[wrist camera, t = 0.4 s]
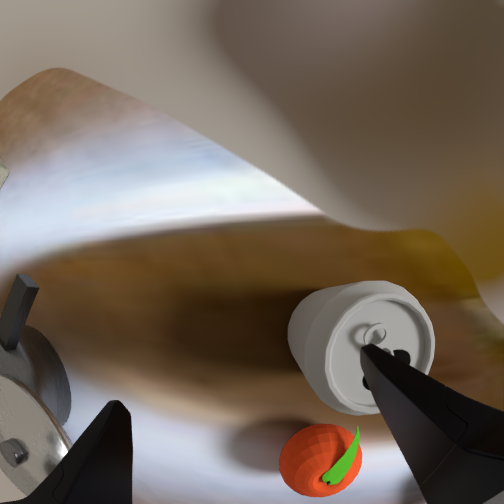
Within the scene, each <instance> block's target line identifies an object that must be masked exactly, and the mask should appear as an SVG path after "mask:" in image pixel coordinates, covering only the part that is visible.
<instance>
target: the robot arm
mask: <svg viewBox="0 0 504 504" xmlns="http://www.w3.org/2000/svg"><path fill="white" fill-rule="evenodd" d="M360 365H361V368H362V371H363V373H364V376H365V378H366V381H367V383H368V386H369V388H370V391H371V393H372V396H373V398H374V401H375V403H376V405H377V407H378V409H379V411H380V412H381V414H382V416H383V418H384V420H385V422H386V424H387V425H388V427H389V429H390V431H391V433H392V435H393V437H394V439H395V440H396V442H397V444H398V446H399V448H400V450H401V452H402V454H403V456H404V458H405V460H406V462H407V464H408V465H409V467H410V469H411V471H412V473H413V475H414V477H415V479H416V481H417V483H418V485H419V486H420V487H419V488H420V490H421V492H422V494H423V496H424V498H425V500H426V502H427V504H504V411H501V410H498V409H496V408H493V407H491V406H488V405H486V404H483V403H480V402H478V401H475V400H473V399H471V398H469V397H466V396H464V395H462V394H460V393H458V392H457V391H455V390H453V389H451V388H449V387H447V386H446V387H445V385H444V384H442V383H440V382H438V381H437V380H435V379H433V378H431V377H430V376H428V375H426V374H424V373H423V372H421V371H419V370H417V369H416V368H414V367H412V366H410V365H409V364H407V363H405V362H404V361H402V360H400V359H398V358H397V357H395V356H393V355H391V354H390V353H388V352H386V351H385V350H383V349H381V348H379V347H378V346H376V345H374V344H372V343H369V344H367V345H364V346H362V347H361V348H360ZM132 463H133V443H132V424H131V414H130V412H129V411H128V410H127V409H126V407H125V406H124V405H123V404H122V403H121V402H120V401H119V400H112V401H109V402H108V403H107V404H106V405H105V407H104V408H103V409H102V410H101V411H100V413H99V414H98V415H97V416H96V418H95V419H94V420H93V421H92V422H91V424H90V425H89V426H88V427H87V429H86V430H85V431H84V432H83V433H82V435H81V436H80V437H79V438H78V440H77V441H76V442H75V443H74V445H73V446H72V447H71V448H70V450H69V451H68V452H67V453H66V455H65V456H64V457H63V458H62V460H61V461H60V462H59V463H58V464H57V466H56V467H55V468H54V469H53V470H52V472H51V473H50V474H49V475H48V476H47V477H46V478H45V479H44V480H43V481H42V482H41V483H40V484H39V485H38V486H37V488H36V489H35V490H34V491H33V492H32V493H31V494H30V495H28V496H27V497H26V498H24V499H21V500H17V501H11V502H4V503H0V504H132Z"/></svg>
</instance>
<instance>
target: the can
mask: <svg viewBox="0 0 504 504" xmlns="http://www.w3.org/2000/svg"><path fill="white" fill-rule="evenodd" d="M288 343H289V346H290V350H291V353H292V355H293V357H294V358H295V360H296V362H297V364H298V365H299V367H300V369H301V370H302V372H303V374H304V376H305V377H306V379H307V381H308V383H309V384H310V386H311V387H312V389H313V390H314V391H315V393H316V394H317V395H318V397H319V398H320V400H321V401H322V402H324V403H325V404H327V405H328V406H330V407H331V408H333V409H335V410H336V411H338V412H342V413H347V414H352V415H365V414H368V415H369V414H376V413H381V412H380V411H379V409H378V407H377V405H376V403H375V401H374V398H373V396H372V393H371V391H370V388H369V386H368V383H367V381H366V378H365V376H364V373H363V371H362V368H361V365H360V348H361V347H362V346H364V345H367V344H369V343H372V344H374V345H376V346H378V347H379V348H381V349H383V350H385V351H386V352H388V353H390V354H391V355H393V356H395V357H397V358H398V359H400V360H402V361H404V362H405V363H407V364H409V365H410V366H412V367H414V368H416V369H417V370H419V371H421V372H423V373H424V374H426V375H428V373H429V370H430V367H431V364H432V361H433V358H434V347H435V337H434V332H433V327H432V323H431V321H430V319H429V317H428V316H427V314H426V312H425V310H424V308H423V307H421V306H420V304H419V302H418V301H417V299H416V298H415V297H413V296H412V295H411V294H410V293H409V292H408V291H406V290H405V289H404V288H403V287H400V286H398V285H395V284H392V283H389V282H387V281H363V282H357V283H352V284H346V285H341V286H335V287H329V288H325V289H322V290H319V291H316V292H313V293H311V294H310V295H309V296H307V297H306V298H304V299H303V300H302V301H301V302H300V303H299V305H298V306H297V307H296V309H295V310H294V311H293V313H292V316H291V319H290V321H289V324H288Z"/></svg>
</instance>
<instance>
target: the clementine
mask: <svg viewBox="0 0 504 504" xmlns="http://www.w3.org/2000/svg"><path fill="white" fill-rule="evenodd" d="M361 463H362V452H361V448H360V445H359V429H358V425H357V432H356V435H355V437H354V435H352V434H351V433H350V432H349V431H347V430H346V429H344V428H343V427H340V426H336V425H332V424H317V425H311V426H309V427H306V428H303V429H302V430H300V431H298V432H297V433H295V434H294V435H293V436H292V437H291V438H290V439H289V440H288V441H287V442H286V444H285V446H284V447H283V449H282V451H281V455H280V459H279V469H280V473H281V475H282V477H283V479H284V482H285V483H286V484H287V485H288V486H289V487H290V488H291V489H293V490H294V491H295V492H297V493H299V494H301V495H305V496H309V497H325V496H330V495H333V494H336V493H338V492H340V491H341V490H343V489H345V488H346V487H347V486H348V485H349V484H350V483H351V482H352V481H353V480H354V479H355V477H356V476H357V475H358V472H359V470H360V468H361Z"/></svg>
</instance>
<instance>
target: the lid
mask: <svg viewBox="0 0 504 504" xmlns="http://www.w3.org/2000/svg"><path fill="white" fill-rule="evenodd" d="M72 446H73V444H72V442H71V440H70V438H69V436H68V435H67V433H66V432H65V430H64V429H63V427H62V426H61V424H60V423H59V421H58V420H57V419H56V417H55V416H54V415H53V413H52V412H51V411H50V410H49V408H48V407H47V406H46V405H45V404H44V402H43V401H42V400H41V399H40V398H39V397H38V396H37V395H36V394H35V393H34V392H33V391H32V390H31V389H30V388H29V387H28V386H26V385H25V384H24V383H22V382H21V381H20V380H18V379H16V378H15V377H13V376H10V375H8V374H3V373H0V468H1V470H2V471H3V472H4V473H5V475H6V476H7V477H8V478H9V479H10V480H11V481H12V483H13V484H14V485H15V486H16V487H18V489H20V490H21V491H22V492H23V493H24V494H25V495H27V496H28V495H30V494H31V493H32V492H33V491H34V490H35V489H36V488H37V486H38V485H39V484H40V483H41V482H42V481H43V480H44V479H45V478H46V477H47V476H48V475H49V474H50V473H51V472H52V470H53V469H54V468H55V467H56V466H57V464H58V463H59V462H60V461H61V460H62V458H63V457H64V456H65V455H66V453H67V452H68V451H69V450H70V448H71V447H72Z"/></svg>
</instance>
